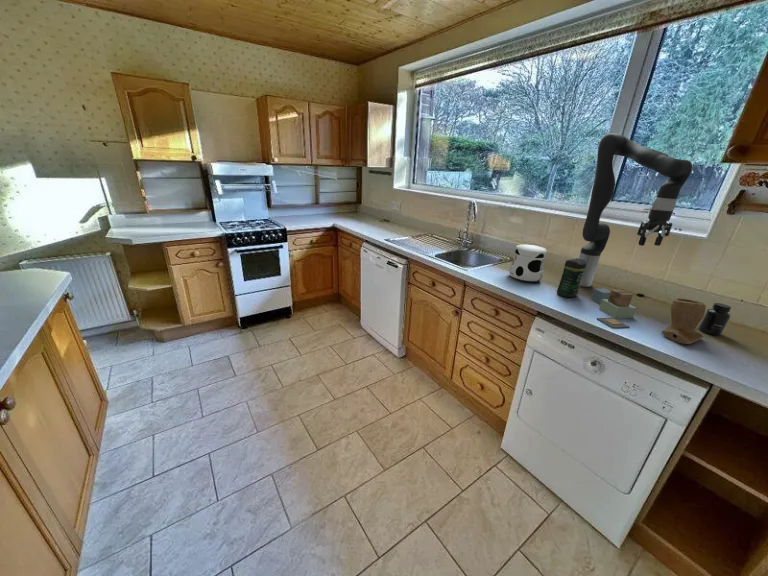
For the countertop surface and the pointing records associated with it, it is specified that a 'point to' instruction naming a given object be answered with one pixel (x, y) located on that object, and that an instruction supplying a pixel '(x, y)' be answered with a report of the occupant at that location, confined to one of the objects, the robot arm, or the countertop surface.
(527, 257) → the milk container
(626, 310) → the sage base block
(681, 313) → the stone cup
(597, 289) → the blue-grey cube
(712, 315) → the supplement bottle
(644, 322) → the countertop surface
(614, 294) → the walnut cube
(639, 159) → the robot arm
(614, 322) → the tile
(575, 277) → the coffee jar
